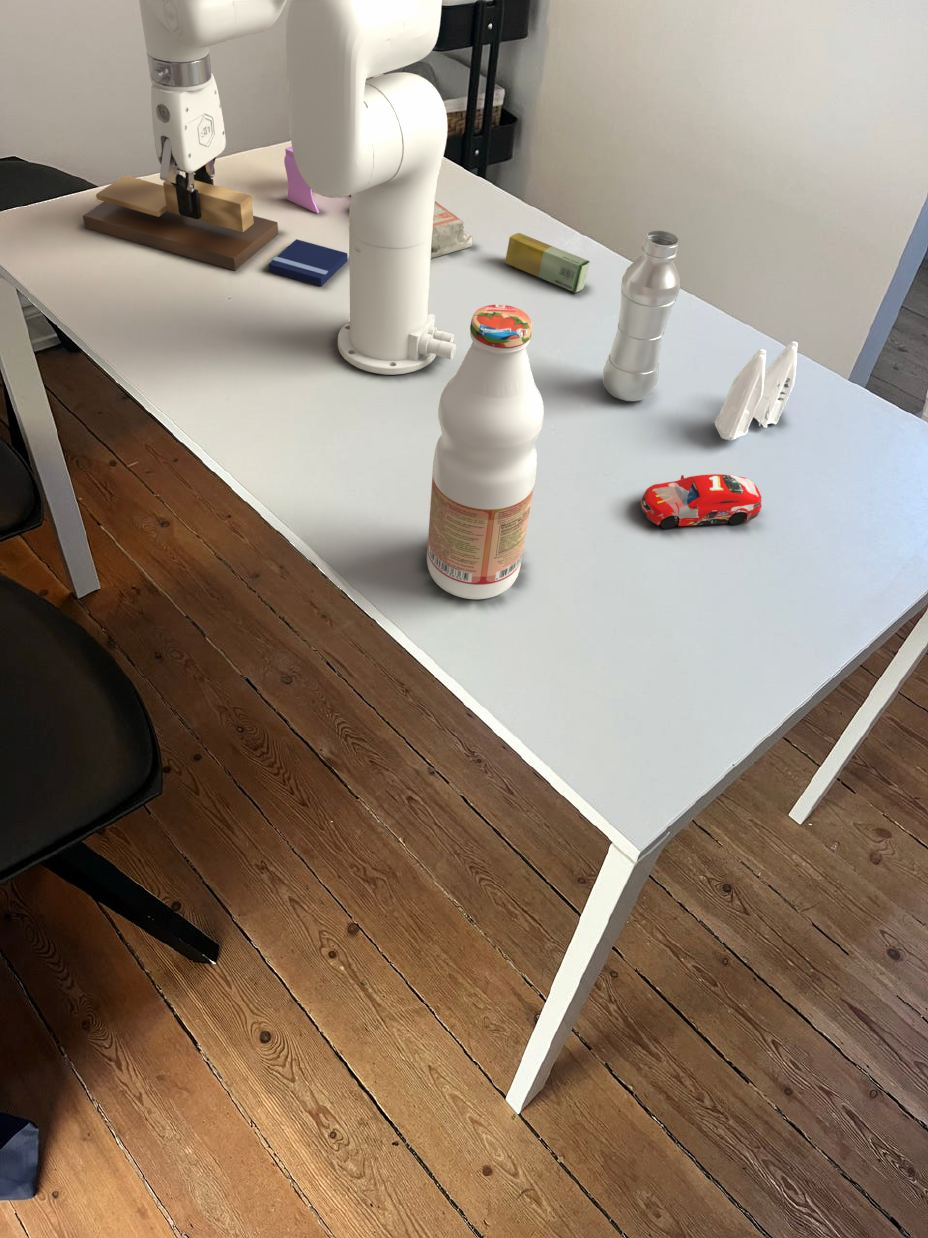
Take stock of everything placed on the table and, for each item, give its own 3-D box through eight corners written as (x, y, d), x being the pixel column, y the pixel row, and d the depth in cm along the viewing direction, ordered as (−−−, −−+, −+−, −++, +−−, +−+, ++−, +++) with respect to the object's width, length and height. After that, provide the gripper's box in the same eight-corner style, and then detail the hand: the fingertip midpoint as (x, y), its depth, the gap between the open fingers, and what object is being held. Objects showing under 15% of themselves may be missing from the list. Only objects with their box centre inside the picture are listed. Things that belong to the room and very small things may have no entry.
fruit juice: (427, 601, 95) (445, 350, 74) (424, 535, 101) (440, 285, 81) (523, 603, 96) (567, 355, 75) (515, 536, 102) (553, 290, 81)
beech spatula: (261, 217, 138) (259, 189, 135) (235, 238, 133) (232, 209, 130) (126, 180, 142) (121, 151, 139) (96, 199, 137) (90, 170, 134)
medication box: (585, 288, 138) (592, 260, 135) (576, 294, 136) (582, 266, 133) (512, 257, 141) (517, 230, 139) (503, 263, 140) (508, 235, 137)
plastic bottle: (656, 410, 119) (697, 255, 104) (600, 405, 119) (634, 249, 104) (650, 379, 124) (689, 226, 109) (597, 375, 123) (629, 221, 109)
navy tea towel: (347, 260, 138) (347, 252, 137) (321, 286, 132) (321, 277, 131) (296, 246, 139) (296, 238, 138) (268, 271, 134) (268, 262, 133)
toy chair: (279, 198, 149) (273, 92, 137) (319, 180, 154) (316, 77, 142) (320, 216, 146) (317, 110, 134) (359, 198, 151) (359, 94, 139)
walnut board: (278, 233, 141) (277, 221, 140) (235, 270, 133) (234, 258, 132) (134, 194, 146) (132, 182, 145) (85, 227, 138) (82, 215, 137)
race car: (645, 532, 104) (653, 503, 101) (632, 498, 108) (640, 470, 105) (762, 526, 106) (773, 498, 103) (745, 493, 110) (756, 465, 107)
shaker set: (727, 453, 115) (755, 373, 106) (700, 435, 117) (725, 354, 108) (789, 418, 120) (820, 339, 112) (762, 401, 122) (791, 322, 114)
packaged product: (477, 215, 139) (420, 231, 135) (474, 247, 143) (418, 264, 138) (405, 165, 148) (349, 179, 144) (404, 197, 152) (349, 211, 147)
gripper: (169, 95, 117) (189, 242, 130) (240, 54, 127) (251, 194, 141) (115, 81, 118) (140, 228, 132) (189, 42, 129) (205, 181, 142)
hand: (197, 209), depth 136 cm, fingers closed on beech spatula, 3 cm apart
